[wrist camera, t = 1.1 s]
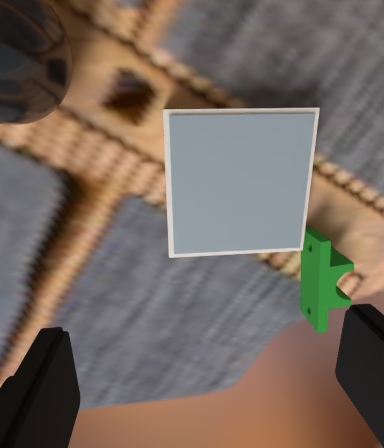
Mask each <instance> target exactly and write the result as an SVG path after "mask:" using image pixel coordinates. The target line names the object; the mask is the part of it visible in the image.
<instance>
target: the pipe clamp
mask: <svg viewBox="0 0 384 448" xmlns="http://www.w3.org/2000/svg"><path fill="white" fill-rule="evenodd" d="M350 270H354V263H353V262H352V261H350V260H349V259H348V258H346V257H345V256H344V255H342V254H341V253H339V252H338V251H337V250H335V249H334V248H333V247H331V240H329V239H328V238H327V237H325V236H324V235H322V234H321V233H319V232H318V231H317V230H315V229H314V228H312V227H311V226H310V227H305V235H304V243H303V251H301V311H302V312H303V314H304V315H305V317H306V318H307V319H308V321H309V322H310V323H311V324H312V326H313V327H314V329H315V330H316V331H317V333H320V332H325V331H327V322H328V309H332V308H338V307H344V306H350V305H351V299H350V298H349V297H348V296H347V295H346V294H345V293H344V292H343V291H342V290H341V289H339V288H338V287H337V286H336V284H337V281H338V280H339V278H340V277H341V276H342V275H343V274H344V273H346V272H348V271H350Z"/></svg>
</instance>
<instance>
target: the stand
mask: <svg viewBox="0 0 384 448" xmlns="http://www.w3.org/2000/svg"><path fill="white" fill-rule="evenodd" d="M319 109H320V108H253V109H164V110H163V127H164V150H165V173H166V197H167V220H168V243H169V258H172V257H191V256H210V255H229V254H247V253H266V252H285V251H303V243H304V235H305V226H306V218H307V210H308V201H309V193H310V184H311V176H312V168H313V159H314V151H315V142H316V134H317V126H318V117H319Z"/></svg>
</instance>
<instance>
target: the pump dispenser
mask: <svg viewBox="0 0 384 448" xmlns="http://www.w3.org/2000/svg"><path fill="white" fill-rule="evenodd" d="M72 69H73V61H72V52H71V47H70V42H69V39H68V36H67V33H66V31H65V29H64V26H63V24H62V23H61V21H60V19H59V17H58V16H57V14H56V13H55V11H54V10H53V8H52V7H51V6H50V5H49V3H48V2H47V1H46V0H0V124H4V125H21V124H28V123H32V122H35V121H38V120H40V119H42V118H44V117H46V116H48V115H49V114H50V113H52V112H53V111H54V110H55V109H56V108H57V107H58V106H59V105H60V103H61V102H62V100H63V99H64V97H65V95H66V93H67V91H68V89H69V86H70V82H71V77H72Z"/></svg>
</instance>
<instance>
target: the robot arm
mask: <svg viewBox="0 0 384 448" xmlns="http://www.w3.org/2000/svg"><path fill="white" fill-rule="evenodd" d="M335 373H336V377H337V380H338V382H339V383H340V385H341V386H342V388H343V389H344V391H345V392H346V394H347V395H348V396H349V398H350V399H351V401H352V402H353V404H354V405H355V407H356V408H357V410H358V411H359V413H360V414H361V416H362V417H363V418H364V420H365V421H366V423H367V424H368V426H369V427H370V429H371V430H372V431H373V433H374V434H375V436H376V437H377V439H378V440H379V442H380V443H381V445H382V446H383V448H384V315H383V314H382V313H381V312H379V311H378V310H377V309H376V308H375V307H373V306H372V305H371V304H357V305H351V306H350V308H349V309H348V310H347V311H346V313H345V318H344V323H343V329H342V335H341V340H340V347H339V352H338V358H337V364H336V369H335ZM79 406H80V392H79V386H78V381H77V375H76V370H75V364H74V359H73V353H72V348H71V342H70V337H69V333H68V332H67V331H64V332H63V329H62V328H61V327H55V328H43V329H41V330H40V331H39V333H38V335H37V337H36V338H35V340H34V342H33V343H32V345H31V347H30V349H29V350H28V352H27V354H26V355H25V357H24V359H23V361H22V362H21V364H20V366H19V368H18V369H17V371H16V373H15V374H14V376H10V377H8V378H7V379H6V380H5V382H4V383H3V384H2V386H1V388H0V448H68V445H69V441H70V438H71V434H72V431H73V427H74V424H75V420H76V417H77V413H78V410H79Z"/></svg>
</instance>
